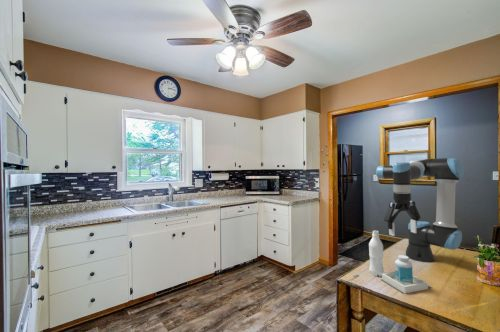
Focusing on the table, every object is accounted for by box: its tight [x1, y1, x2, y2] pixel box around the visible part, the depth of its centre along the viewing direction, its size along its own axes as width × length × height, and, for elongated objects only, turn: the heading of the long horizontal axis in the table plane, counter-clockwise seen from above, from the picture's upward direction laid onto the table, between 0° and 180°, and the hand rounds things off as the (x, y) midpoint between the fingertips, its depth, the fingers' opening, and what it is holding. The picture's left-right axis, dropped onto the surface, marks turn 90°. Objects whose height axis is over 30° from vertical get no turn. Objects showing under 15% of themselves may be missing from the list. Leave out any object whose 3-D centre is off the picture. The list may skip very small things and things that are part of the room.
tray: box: [381, 271, 429, 294], centre depth 120 cm, size 14×14×3 cm
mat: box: [380, 279, 433, 295], centre depth 120 cm, size 18×14×1 cm
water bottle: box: [368, 229, 385, 278], centre depth 131 cm, size 7×7×25 cm
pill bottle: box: [394, 254, 414, 286], centre depth 120 cm, size 8×7×14 cm
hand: (402, 233), depth 120 cm, fingers open, 13 cm apart
